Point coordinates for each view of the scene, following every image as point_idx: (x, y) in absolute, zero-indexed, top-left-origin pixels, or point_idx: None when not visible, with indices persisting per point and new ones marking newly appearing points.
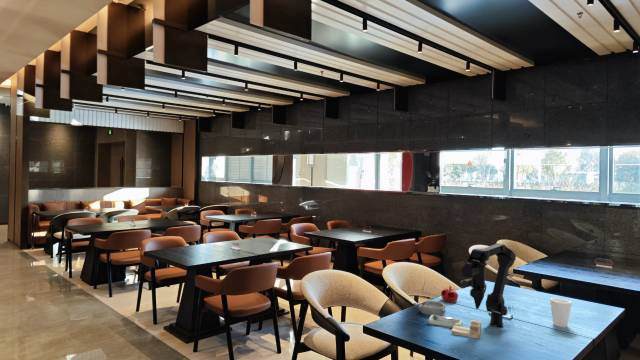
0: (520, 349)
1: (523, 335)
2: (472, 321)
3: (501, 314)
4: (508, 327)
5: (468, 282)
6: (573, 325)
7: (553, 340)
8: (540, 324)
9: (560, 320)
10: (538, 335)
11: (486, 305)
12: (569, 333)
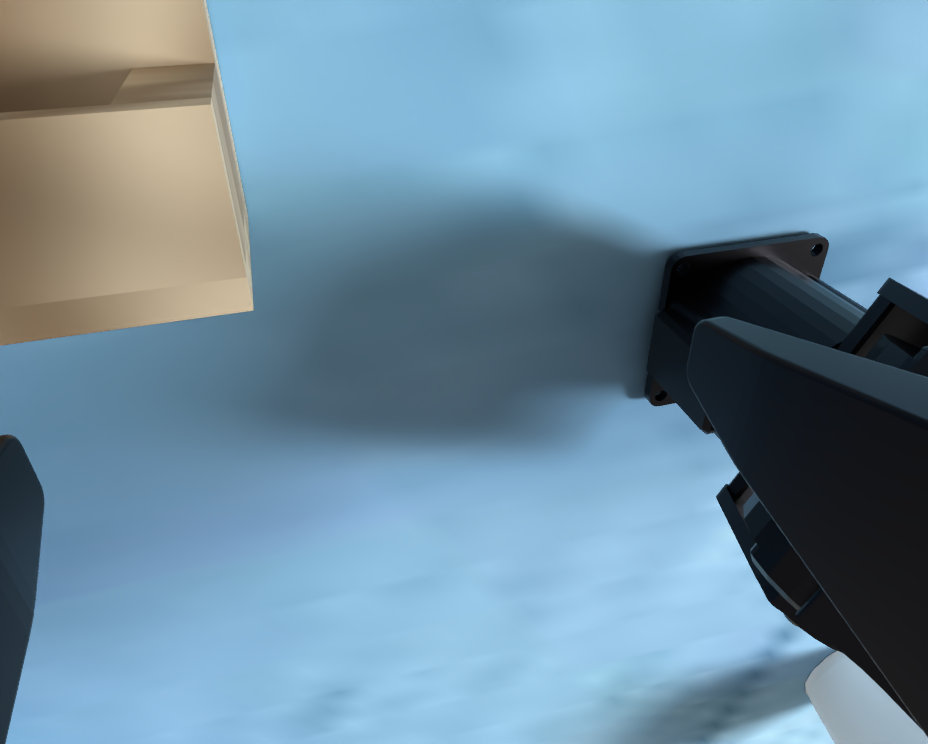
0: None
1: (488, 585)
2: (68, 142)
3: (722, 505)
4: (672, 437)
5: None
6: None
7: (488, 733)
8: None
9: (839, 729)
10: (554, 652)
11: (916, 355)
12: (691, 738)
